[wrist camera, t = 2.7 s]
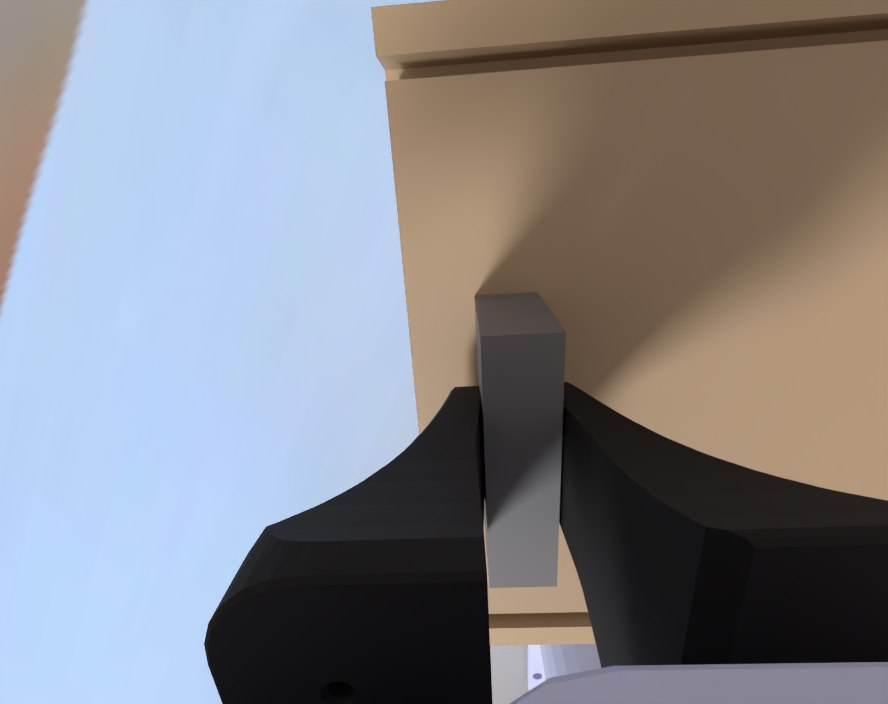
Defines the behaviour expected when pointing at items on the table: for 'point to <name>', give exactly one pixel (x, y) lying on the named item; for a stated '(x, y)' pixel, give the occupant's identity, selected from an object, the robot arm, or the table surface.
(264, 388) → the table surface
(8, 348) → the table surface
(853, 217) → the lid
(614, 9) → the wooden box
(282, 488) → the table surface
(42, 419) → the table surface
